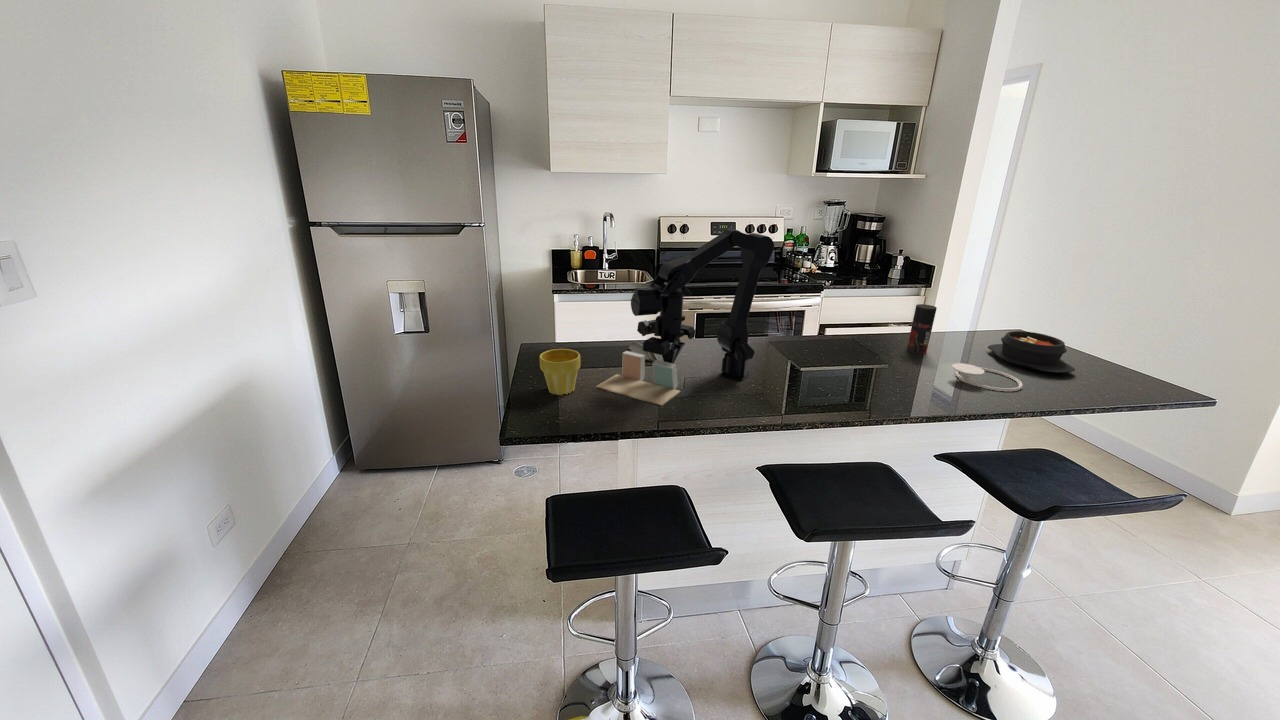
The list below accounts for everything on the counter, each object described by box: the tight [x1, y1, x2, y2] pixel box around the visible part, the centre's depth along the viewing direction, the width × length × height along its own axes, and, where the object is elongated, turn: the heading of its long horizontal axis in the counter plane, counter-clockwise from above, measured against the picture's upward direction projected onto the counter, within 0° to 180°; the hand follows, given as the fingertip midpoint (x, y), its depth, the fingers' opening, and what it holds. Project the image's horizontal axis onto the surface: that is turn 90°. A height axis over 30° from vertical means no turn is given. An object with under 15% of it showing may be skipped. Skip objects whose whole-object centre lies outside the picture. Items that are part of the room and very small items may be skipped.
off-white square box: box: [652, 359, 679, 390], centre depth 142 cm, size 6×2×7 cm, turn 59°
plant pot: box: [539, 348, 581, 396], centre depth 138 cm, size 10×10×10 cm
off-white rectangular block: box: [621, 350, 646, 381], centre depth 147 cm, size 6×2×7 cm, turn 59°
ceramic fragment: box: [628, 340, 655, 363], centre depth 165 cm, size 14×5×4 cm, turn 27°
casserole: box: [987, 330, 1076, 374], centre depth 167 cm, size 25×19×8 cm
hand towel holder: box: [951, 362, 1024, 393], centre depth 153 cm, size 17×4×20 cm
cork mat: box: [595, 373, 681, 407], centre depth 141 cm, size 20×10×1 cm, turn 59°
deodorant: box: [906, 303, 938, 355], centre depth 174 cm, size 6×6×15 cm
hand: (668, 369), depth 143 cm, fingers closed
